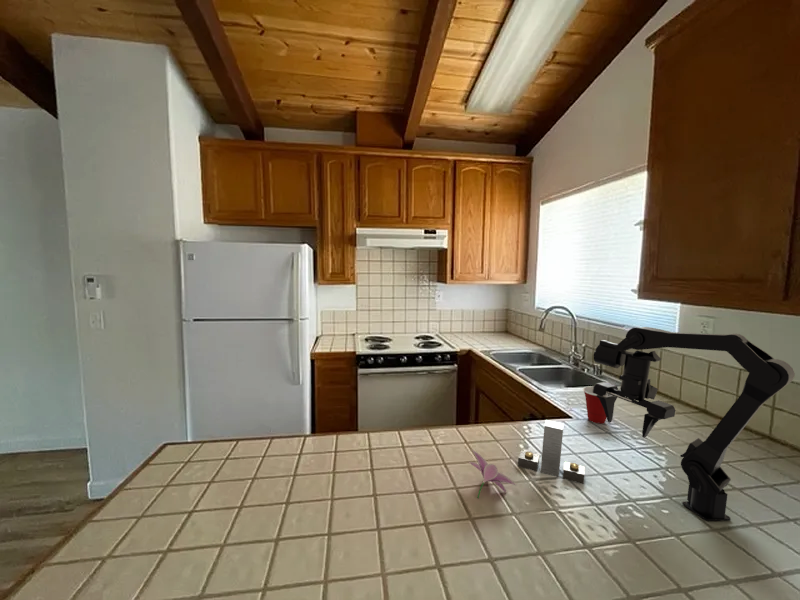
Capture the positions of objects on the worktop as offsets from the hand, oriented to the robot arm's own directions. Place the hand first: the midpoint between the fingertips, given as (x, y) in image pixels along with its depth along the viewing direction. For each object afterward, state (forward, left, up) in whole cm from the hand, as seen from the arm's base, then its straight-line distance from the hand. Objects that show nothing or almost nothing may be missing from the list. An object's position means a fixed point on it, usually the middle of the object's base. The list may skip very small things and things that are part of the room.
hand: (626, 429), depth 101 cm
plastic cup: (+38, -19, -13) cm, 44 cm away
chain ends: (+3, +19, -13) cm, 23 cm away
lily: (-6, +40, -13) cm, 43 cm away
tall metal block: (+3, +19, -13) cm, 23 cm away
